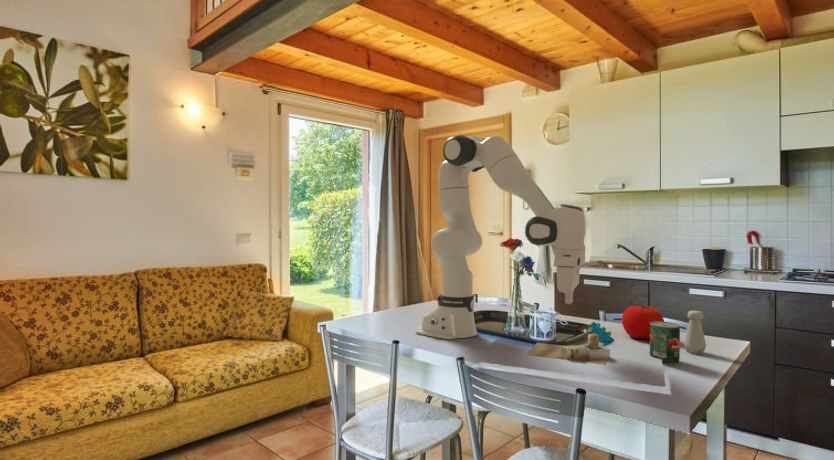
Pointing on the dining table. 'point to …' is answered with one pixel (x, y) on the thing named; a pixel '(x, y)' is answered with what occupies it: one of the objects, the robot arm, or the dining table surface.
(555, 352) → the post board
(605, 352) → the tan pipe fitting
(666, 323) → the canned tomato
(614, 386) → the dining table surface
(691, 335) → the salt shaker
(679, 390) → the dining table surface
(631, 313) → the tomato
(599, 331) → the gear
